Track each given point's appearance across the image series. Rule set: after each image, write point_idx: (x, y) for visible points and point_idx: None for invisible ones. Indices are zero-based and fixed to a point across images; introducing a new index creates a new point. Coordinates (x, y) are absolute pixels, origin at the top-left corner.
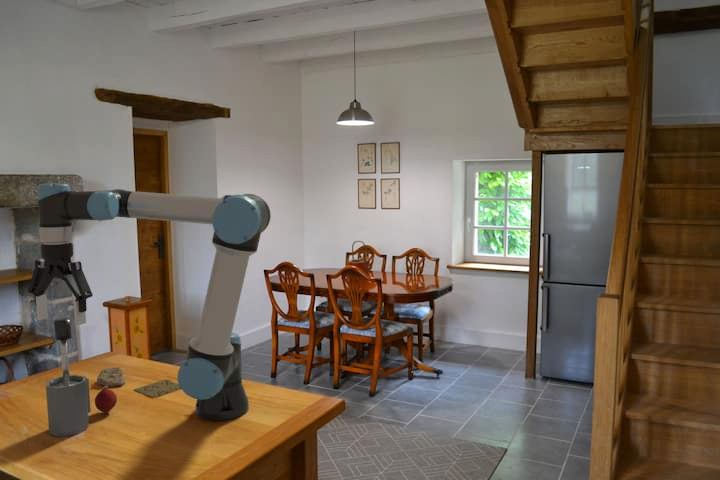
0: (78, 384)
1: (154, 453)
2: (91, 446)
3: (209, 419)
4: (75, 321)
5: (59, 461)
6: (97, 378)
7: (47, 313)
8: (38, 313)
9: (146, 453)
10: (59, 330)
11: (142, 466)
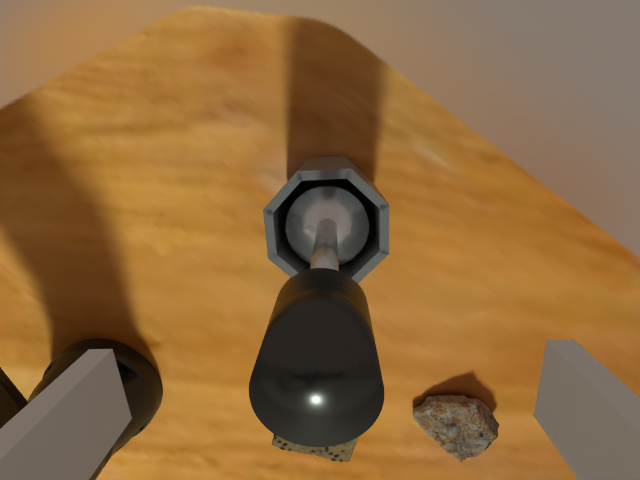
0: (265, 229)
1: (58, 186)
2: (203, 154)
3: (87, 340)
4: (89, 371)
5: (201, 68)
6: (486, 410)
7: (562, 452)
8: (604, 389)
9: (71, 179)
10: (292, 304)
11: (27, 132)
